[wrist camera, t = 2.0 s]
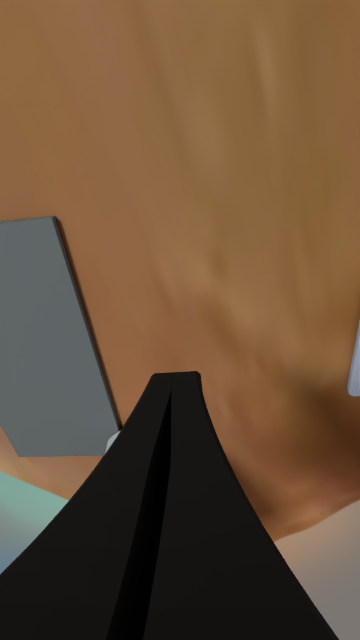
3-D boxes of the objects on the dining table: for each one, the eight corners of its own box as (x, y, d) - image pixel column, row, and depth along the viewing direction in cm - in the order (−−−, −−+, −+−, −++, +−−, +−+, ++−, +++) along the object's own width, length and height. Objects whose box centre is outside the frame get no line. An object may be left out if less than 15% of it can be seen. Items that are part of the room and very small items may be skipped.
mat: (54, 215, 18) (51, 217, 18) (127, 451, 28) (126, 455, 28) (-104, 232, 19) (-110, 235, 19) (21, 452, 29) (18, 456, 29)
